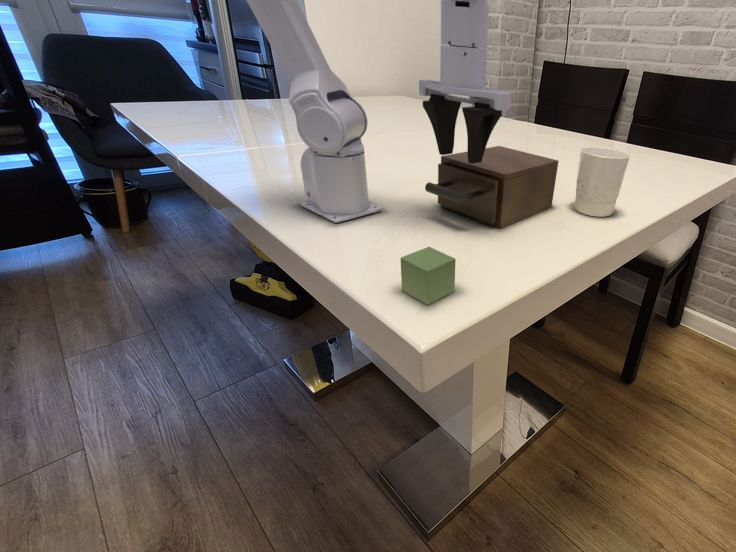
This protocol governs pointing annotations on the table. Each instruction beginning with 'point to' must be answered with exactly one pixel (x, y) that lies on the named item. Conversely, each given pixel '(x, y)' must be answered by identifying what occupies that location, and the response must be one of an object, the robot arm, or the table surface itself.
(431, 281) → the block
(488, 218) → the drawer
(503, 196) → the cabinet
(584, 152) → the white cup
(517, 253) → the table surface
